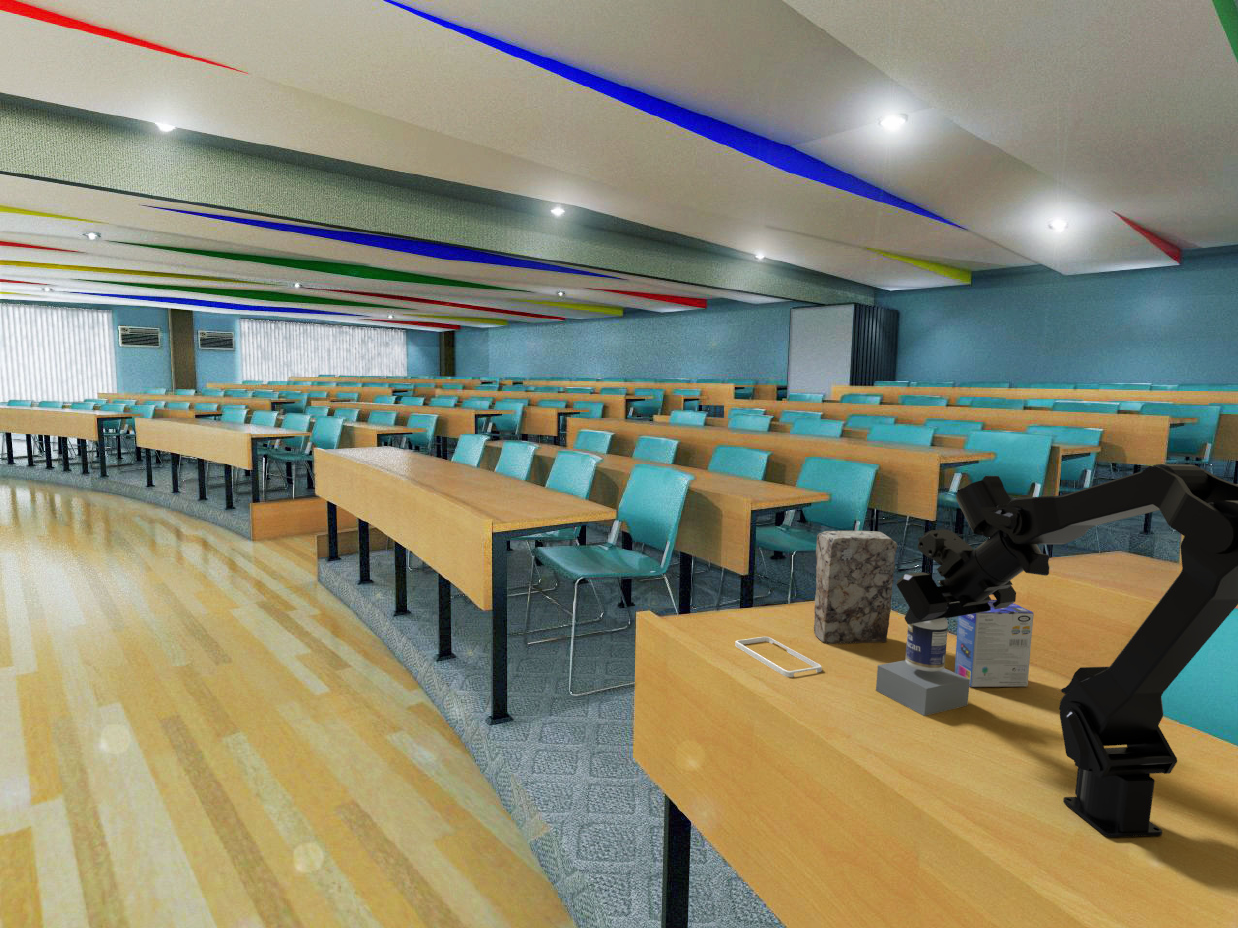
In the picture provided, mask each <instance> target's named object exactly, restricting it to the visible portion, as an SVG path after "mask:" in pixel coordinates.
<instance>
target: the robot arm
mask: <svg viewBox="0 0 1238 928" xmlns="http://www.w3.org/2000/svg"><path fill="white" fill-rule="evenodd" d="M955 499H956V502H957V503H958V506H959V508H960V509H961V511H962V513H963V516H964V517H965V520H966V521H967V523H968V526H969V527H970V529H971V531H972V533H973V534H974V535H978V536H983V537H985V538H987V539H986V540H985V541H983V542H982V543H981V544H980V545H978V546H977V547H976V548H973V547H972V546H971V545H970V544H969V543H968V542H966V541H965V540H964V539H962V538H961V537H960V536H959V535H958V534H956V533H955V532H953V530H952V531H951V530H949V529H935V530H934V529H932V530H929V531H928V532H924V534H923V535H922V536H919V538H918V540H917V541H918V542H917V546H916V547H917V549H918V551H919V552H921V553H922V554H923V555H924V556H926V557H927V558H929V559H932V561H934V563H936V564H938V565H940V566H939V567H938V568H937V567H936V571H937V572H938V573H939V575H940V577H943V578H944V579H940V580H939V581H938V584H939V585H940V586H938V585H937V584H936V582H935V580H934V578H933V576H932V575H931V574H930V573H927V572H922V571H921V572H913V573H905V574H903V575H902V576H901V577H899V579H897V580H896V587H897V589H898V590H899V591H900V594H901V595H902V597H903V598H904V601H905V602H906V604H907V605H908V607H909V608H908V610H907V612H906V613H905V616H904V621H905V622H906V624H907V625H908V624H914V623H919V622H925V621H930V620H936V619H941V618H945V619H946V620H947V619H951V618H956V617H957V618H958V616H963V615H969V614H975V613H981V612H987V611H990V610H991V607H990V606H989V604H988V602H989V601H990V600H992V599H991V597H990V596H993V597H994V599H995V600H997V601H996V602H994V603H993V604H992V606H993V608H994V609H1000V608H1007V607H1008V606H1009V605H1011V604H1012V603H1014V604H1015V602H1016V599H1017V592H1016V590H1015V589H1014V587H1013V585H1014V584H1013V583H1012V581H1011V580H1013V579H1014V578H1016V577H1017V576H1019V575H1020V574H1021V573H1023V572H1024V573H1025V574H1031V575H1039V576H1045V577H1046V576H1048V575H1049V574H1050V563H1049V560H1050V555H1049V554H1047V553H1043V552H1042V551H1041V549H1040V548H1039V545H1066V544H1069V543H1072V542H1073V541H1075V540H1077V539H1079V538H1081V537H1084V536H1085V535H1086V533H1087V532H1088V531H1089V529H1091V528H1094V527H1095V526H1099V525H1103V524H1107V523H1111V522H1116V521H1119V520H1124V519H1128V518H1132V517H1136V516H1141V515H1144V514H1150V513H1153V512H1158V511H1160V512H1161V515H1162V516H1163V519H1164V520H1165V521H1166V523H1167V525H1168V526H1169V527H1171V529H1173V530H1175V531H1176V532H1177V533H1179V534H1180V535H1182V536H1183V538H1182V541H1181V543H1180V556H1181V559H1180V560H1181V568H1182V569H1181V571H1180V573H1179V574H1178V576H1177V577H1176V578H1175V580H1174V581H1173V582H1172V583H1171V585H1170V586H1169V587H1168V589H1167V590H1166V591H1165V593H1164V594H1163V595H1162V597H1161V598H1160V599H1159V600H1158V602H1157V604H1156V605H1155V606H1154V607H1153V609H1152V610H1151V612H1150V613H1148V615H1147V616H1146V618H1145V619H1144V621H1143V622H1142V623H1141V625H1140V626H1139V628H1138V629H1137V630H1136V631H1135V632H1134V634H1133V635H1132V637H1131V638H1130V639H1129V640H1128V642H1127V643H1126V644H1125V645H1124V647H1123V649H1121V651H1120V653H1118V655H1117V657H1116V658H1115V659H1114V661H1113V662H1112V663H1111V664H1110V666H1088V667H1087V666H1085V667H1084V666H1082V667H1081V666H1080V667H1079V668H1078V669H1077V670H1076V671H1075V672H1074V673H1073V675H1072V678H1071V680H1070V682H1069V683H1068V684H1067V685H1066V686H1065V687H1062V688H1061V689H1060V692H1061V693H1063V694H1064V695H1063V696H1062V698H1061V700H1060V702H1059V707H1058V709H1059V719H1060V726H1061V732H1062V738H1063V744H1064V750H1065V755H1066V756H1067V757H1068V758H1070V759H1071V760H1072V761H1074V766H1075V767H1076V768H1077V774H1076V783H1075V792H1074V793H1075V796H1064V797H1063V803H1064V804H1065V805H1066V806H1067V807H1069V808H1070V809H1071V811H1072V810H1073V812H1075V814H1078V816H1079V817H1081V818H1082V819H1083V820H1084V821H1086V822H1087V823H1088V824H1090V825H1091V826H1092V827H1093V828H1095V830H1097V831H1098V832H1100V833H1101V834H1102V835H1103V836H1105V837H1108V838H1125V837H1127V838H1128V837H1157V836H1159V837H1160V836H1162V835H1163V830H1162V829H1161V828H1160V827H1159V826H1157V825H1156V824H1155V823H1153V822H1151V821H1150V820H1151V812H1152V806H1153V805H1152V804H1153V798H1154V788H1155V782H1156V780H1155V779H1154V778H1153V777H1152V776H1151V775H1152V774H1153V775H1154V774H1155V775H1156V774H1164V775H1168V774H1169V775H1170V774H1171V773H1172V771H1173V770H1174V768H1175V766H1176V764H1177V763H1178V758H1177V756H1176V755H1175V753H1174V751H1173V749H1172V747H1171V746H1170V743H1169V742H1168V740H1167V738H1166V737H1165V735H1164V733H1163V731H1162V729H1161V728H1160V723H1161V721H1162V719H1163V717H1164V708H1163V698H1162V696H1163V694H1164V693H1165V692H1166V690H1167V689H1168V688H1169V687H1170V685H1171V684H1172V683H1173V682H1174V680H1176V679H1177V677H1179V675H1180V673H1182V671H1183V670H1184V669H1185V668H1186V666H1187V665H1188V664H1189V663H1190V662H1191V661H1192V659H1194V657H1195V656H1196V655H1197V654H1198V652H1199V651H1200V650H1201V648H1203V646H1205V644H1206V643H1207V641H1208V640H1210V638H1211V637H1212V636H1213V634H1214V633H1215V632H1216V631H1217V630H1218V629H1219V627H1221V625H1222V624H1223V623H1224V621H1226V619H1227V618H1228V617H1229V616H1230V614H1231V613H1232V612H1233V611H1234V610H1235V609H1236V607H1238V484H1236V483H1233V482H1230V481H1228V480H1225V479H1224V478H1221V477H1218V476H1217V475H1215V474H1213V473H1212V472H1210V471H1208V470H1206V469H1205V468H1201V467H1199V466H1198V465H1195V464H1180V463H1179V464H1177V463H1176V464H1175V463H1157V464H1153V465H1151V466H1148V467H1146V468H1144V469H1143V470H1142V471H1139V472H1135V473H1131V474H1129V475H1126V476H1122V477H1118V478H1116V479H1112V480H1109V481H1106V482H1102V483H1100V484H1097V485H1096V484H1095V485H1092V486H1089V487H1086V488H1084V489H1080V490H1077V491H1076V490H1075V491H1073V492H1071V493H1066V494H1064V495H1063V494H1062V495H1050V496H1049V495H1047V496H1045V495H1044V496H1029V497H1028V496H1027V497H1019V498H1018V497H1017V498H1013V499H1011V498H1010V495H1009V494H1008V492H1007V490H1006V488H1005V487H1004V484H1003V481H1002V479H1001V477H1000V476H999V475H985V476H984V477H983V478H982V479H981V480H977V481H974V482H972V483H969V484H967V485H966V486H964V487H961V488H960V489H959V490H958V491H957V493H956V496H955ZM991 594H993V595H991ZM1113 746H1114V747H1113ZM1115 746H1116V747H1115ZM1119 746H1120V747H1119Z"/></svg>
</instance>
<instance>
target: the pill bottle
mask: <svg viewBox="0 0 1238 928" xmlns="http://www.w3.org/2000/svg"><path fill="white" fill-rule="evenodd" d="M948 626H949V623H948V620H947V618H946V619H945V618H941V619H936V620H930V621H925V622H919V623H914V624H907V634H906V635H907V636H906V646H905V647H906V648H905V660H906V663H907V664H908V665H910V666H911V667H913V668H916V669H919V670H923V671H930V672H934V671H940V670H942V669H944V668H945V665H946V655H947V643H948V629H949V627H948Z"/></svg>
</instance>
